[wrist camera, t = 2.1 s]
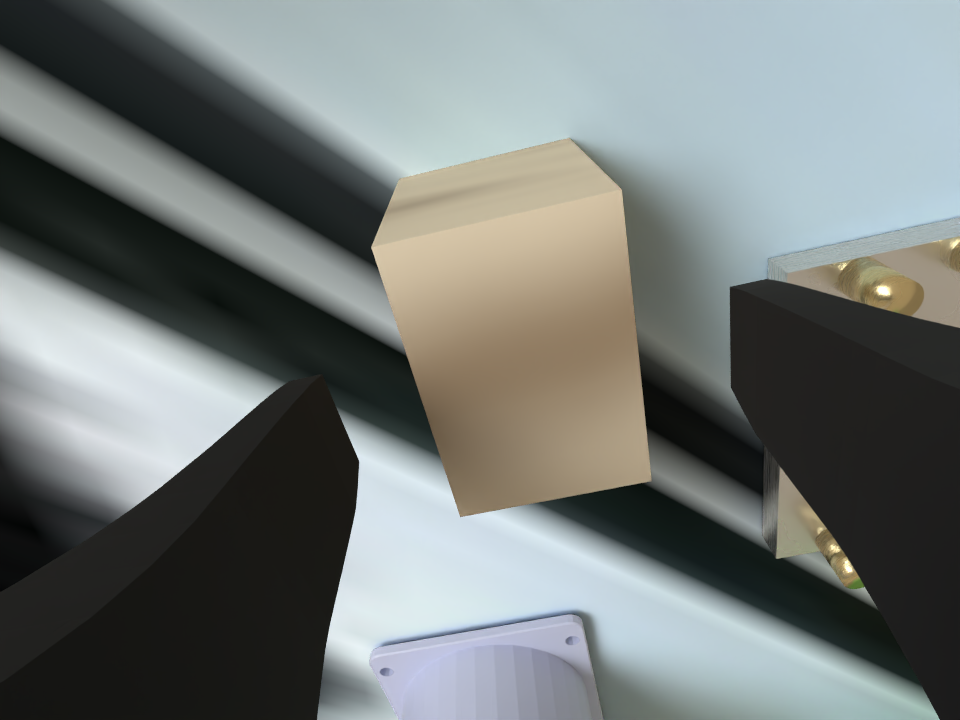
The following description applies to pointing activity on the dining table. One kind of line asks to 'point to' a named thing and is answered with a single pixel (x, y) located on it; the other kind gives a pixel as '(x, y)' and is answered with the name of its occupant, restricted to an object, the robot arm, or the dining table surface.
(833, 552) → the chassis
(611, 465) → the birch block
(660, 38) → the dining table surface
